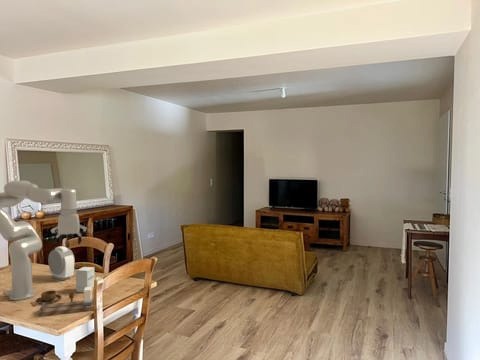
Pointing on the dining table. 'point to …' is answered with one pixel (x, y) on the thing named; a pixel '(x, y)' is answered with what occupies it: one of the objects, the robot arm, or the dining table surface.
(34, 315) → the dining table surface
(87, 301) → the fader knob
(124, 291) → the dining table surface
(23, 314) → the dining table surface
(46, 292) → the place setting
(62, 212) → the robot arm
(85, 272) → the supplement box
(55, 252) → the alarm clock
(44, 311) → the fader panel
